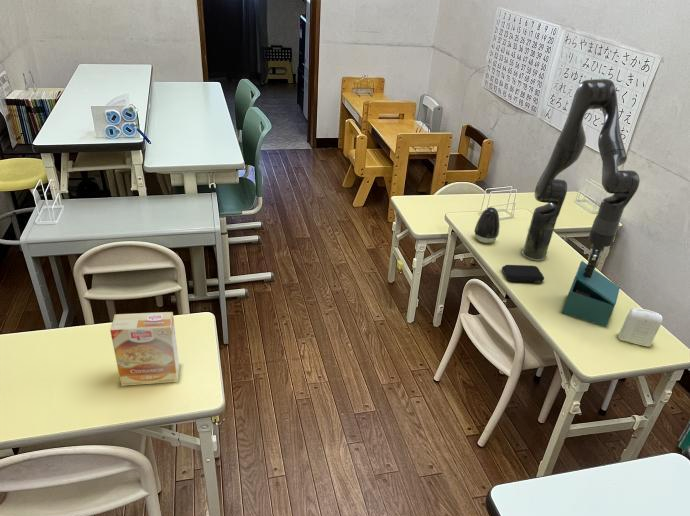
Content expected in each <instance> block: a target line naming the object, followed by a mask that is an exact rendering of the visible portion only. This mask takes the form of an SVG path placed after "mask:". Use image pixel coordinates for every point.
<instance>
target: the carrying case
mask: <svg viewBox="0 0 690 516" xmlns="http://www.w3.org/2000/svg"><path fill="white" fill-rule="evenodd" d="M501 271H502V272H503V275H504V277H505V278H506V280H507V281H509V282H516V283H534V284H538V283H541V282H544V280H545V277H544V274H543V273H542V272H541V270H540V268H539V267H538V266H536V265H528V264H527V265H525V264H505V265H503V266H502V267H501Z"/></svg>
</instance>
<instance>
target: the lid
mask: <svg viewBox="0 0 690 516" xmlns="http://www.w3.org/2000/svg"><path fill="white" fill-rule="evenodd" d="M587 265H588V263H587V262H584V260H581V261H580V263H579V266H578V268H577V271H576V274H575V276H574V278H576V279H578V280H579V281H580V282H582V283H583V284H585V285H586V286H587V287H589V288H590V289H592V290H593V291H594V292H596V293H597V294H599V295H600V296H601V297H603V298H604V299H606V300H607V301H608V302H610V303H611V304H613V305H615V306H616V304H617V301H618V298H619V293H620V288H621V287H620V286H618V285H617V284H616V283H614V282H613V281H612V280H610V279H609V278H608V277H606V276H604V275H603V274H602V273H600V272H599V271H597V270H596V269H594V270H593V273H592V276H591V278H587V277H584V274H585V272H586V269H587V267H586V266H587ZM590 265H593V264H590Z"/></svg>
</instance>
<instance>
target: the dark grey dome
mask: <svg viewBox="0 0 690 516" xmlns="http://www.w3.org/2000/svg"><path fill="white" fill-rule="evenodd" d="M500 223H501V222H500V215H499V212H498V210H497V209H496V208H495V207H491V206H489V207H486V208H485V209H484V210H483V211H482V213H481V214H480V216H479V218H478V220H477V221H476V224H475V226H474V230H473V232H474V236H475V238H476V240H477V241H479V242H481V243H484V244H491V243H493V242H495V240H497V238H498V237H499V235H500V226H501V225H500Z"/></svg>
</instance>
